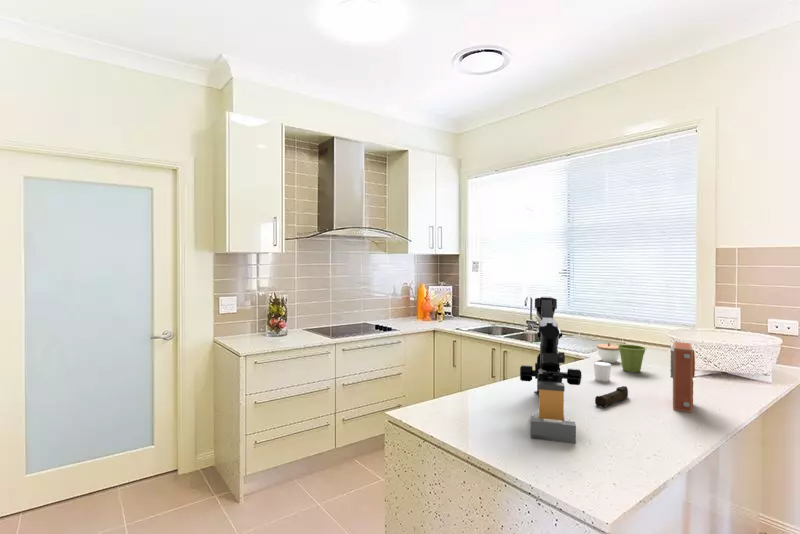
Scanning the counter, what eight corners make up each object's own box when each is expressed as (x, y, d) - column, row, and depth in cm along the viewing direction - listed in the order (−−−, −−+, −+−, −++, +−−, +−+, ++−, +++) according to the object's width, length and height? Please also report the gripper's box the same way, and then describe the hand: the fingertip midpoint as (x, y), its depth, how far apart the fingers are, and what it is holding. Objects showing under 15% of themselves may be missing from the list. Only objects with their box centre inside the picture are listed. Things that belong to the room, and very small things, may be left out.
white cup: (612, 378, 185) (612, 362, 185) (610, 382, 179) (610, 366, 179) (594, 376, 188) (594, 360, 188) (592, 380, 183) (592, 364, 182)
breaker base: (530, 418, 138) (530, 402, 138) (570, 422, 135) (570, 405, 135) (531, 438, 123) (531, 420, 123) (575, 443, 120) (575, 424, 119)
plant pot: (651, 374, 192) (652, 349, 192) (625, 374, 192) (625, 349, 192) (637, 367, 204) (637, 344, 204) (612, 367, 204) (612, 344, 204)
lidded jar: (600, 363, 213) (600, 344, 212) (594, 358, 223) (594, 340, 223) (623, 364, 211) (623, 345, 211) (616, 359, 221) (616, 341, 221)
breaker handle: (538, 419, 134) (538, 381, 134) (563, 421, 132) (563, 383, 132) (538, 422, 131) (538, 384, 131) (564, 425, 129) (564, 386, 129)
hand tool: (605, 409, 148) (605, 395, 148) (594, 406, 151) (594, 392, 151) (634, 399, 158) (635, 387, 158) (624, 396, 161) (624, 384, 161)
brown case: (692, 401, 155) (694, 414, 142) (669, 398, 159) (670, 410, 146) (693, 342, 155) (695, 350, 142) (670, 340, 158) (670, 347, 146)
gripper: (520, 341, 142) (519, 383, 131) (581, 344, 136) (585, 388, 126) (520, 359, 149) (519, 400, 139) (578, 363, 144) (581, 406, 133)
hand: (550, 398), depth 134 cm, fingers closed
